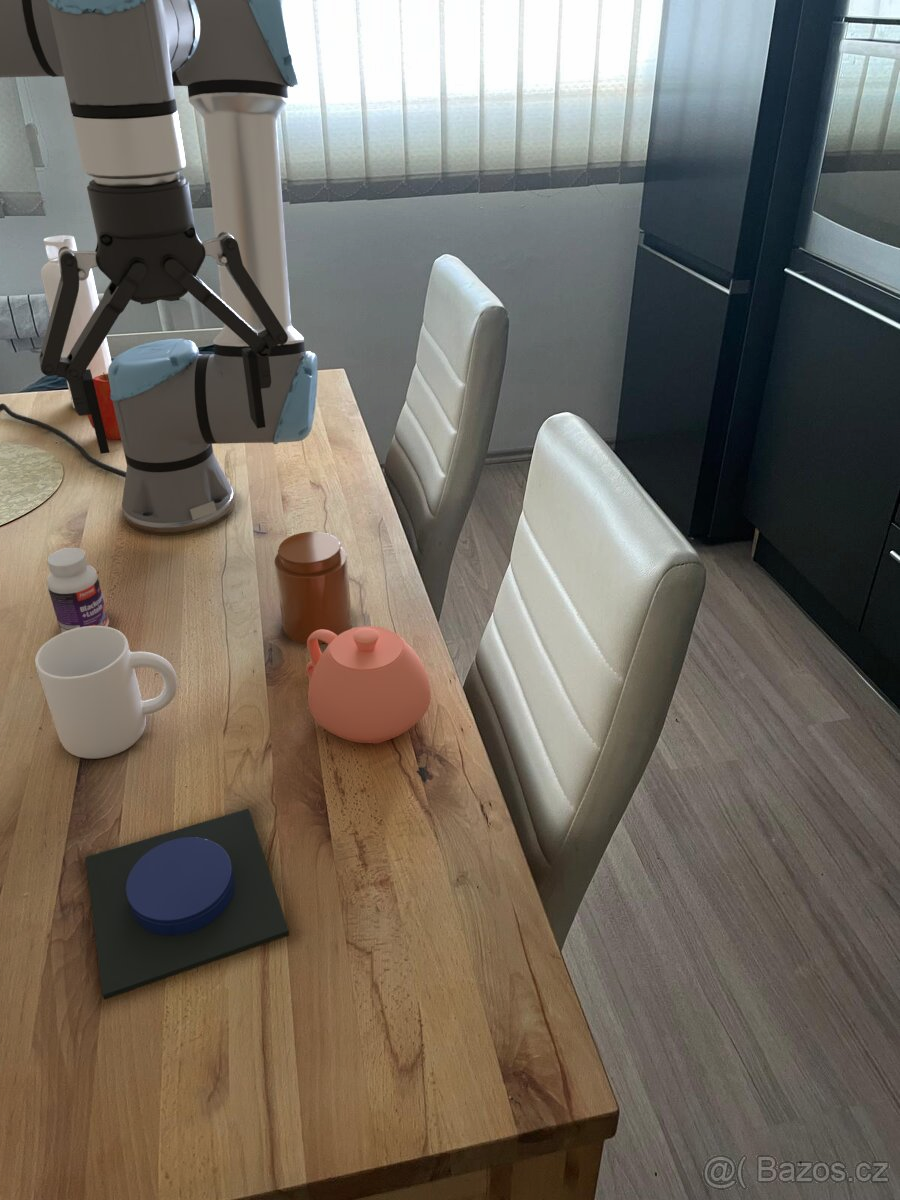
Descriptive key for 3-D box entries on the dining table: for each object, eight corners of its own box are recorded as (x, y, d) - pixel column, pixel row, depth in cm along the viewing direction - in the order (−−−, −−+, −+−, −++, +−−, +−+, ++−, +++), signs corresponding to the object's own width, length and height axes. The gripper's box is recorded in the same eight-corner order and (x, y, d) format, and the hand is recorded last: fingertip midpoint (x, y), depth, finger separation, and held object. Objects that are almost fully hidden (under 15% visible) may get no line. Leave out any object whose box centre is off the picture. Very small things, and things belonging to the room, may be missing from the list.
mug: (184, 693, 97) (167, 613, 91) (187, 745, 90) (169, 662, 84) (63, 714, 94) (38, 633, 88) (58, 769, 87) (30, 685, 82)
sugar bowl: (385, 773, 87) (380, 690, 81) (272, 721, 93) (260, 640, 87) (453, 702, 95) (453, 621, 90) (346, 659, 102) (339, 581, 96)
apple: (123, 420, 158) (109, 359, 152) (154, 431, 154) (142, 369, 148) (82, 436, 152) (66, 374, 146) (113, 448, 148) (99, 384, 142)
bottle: (129, 398, 166) (95, 235, 150) (98, 414, 160) (59, 246, 144) (94, 391, 169) (58, 231, 153) (62, 407, 163) (21, 241, 147)
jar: (275, 613, 109) (265, 537, 103) (339, 599, 112) (333, 523, 106) (293, 651, 103) (283, 572, 97) (360, 634, 105) (355, 556, 100)
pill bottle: (95, 644, 104) (75, 571, 99) (51, 638, 105) (29, 566, 100) (118, 617, 108) (100, 546, 103) (77, 612, 109) (57, 541, 104)
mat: (86, 861, 78) (85, 856, 78) (249, 812, 83) (248, 808, 82) (104, 1000, 68) (102, 995, 67) (289, 935, 72) (288, 930, 72)
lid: (226, 934, 72) (222, 918, 70) (118, 938, 71) (113, 923, 70) (241, 850, 78) (238, 835, 77) (143, 854, 78) (139, 838, 77)
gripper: (283, 158, 77) (306, 398, 89) (-41, 180, 69) (32, 441, 81) (308, 172, 71) (329, 427, 83) (-43, 197, 63) (36, 476, 75)
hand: (182, 435), depth 82 cm, fingers open, 13 cm apart
